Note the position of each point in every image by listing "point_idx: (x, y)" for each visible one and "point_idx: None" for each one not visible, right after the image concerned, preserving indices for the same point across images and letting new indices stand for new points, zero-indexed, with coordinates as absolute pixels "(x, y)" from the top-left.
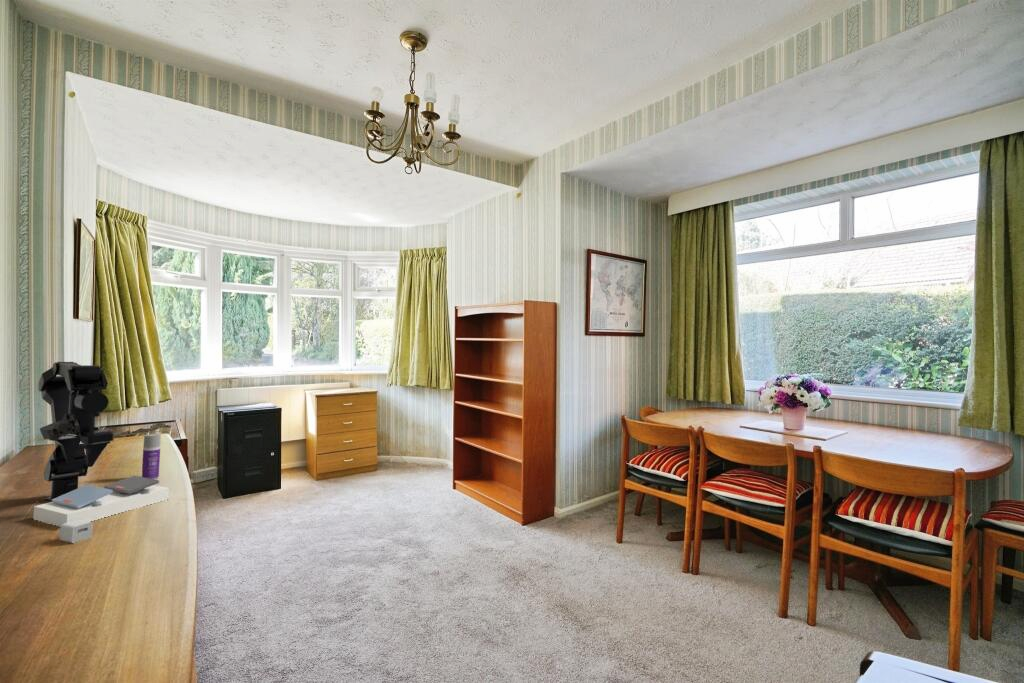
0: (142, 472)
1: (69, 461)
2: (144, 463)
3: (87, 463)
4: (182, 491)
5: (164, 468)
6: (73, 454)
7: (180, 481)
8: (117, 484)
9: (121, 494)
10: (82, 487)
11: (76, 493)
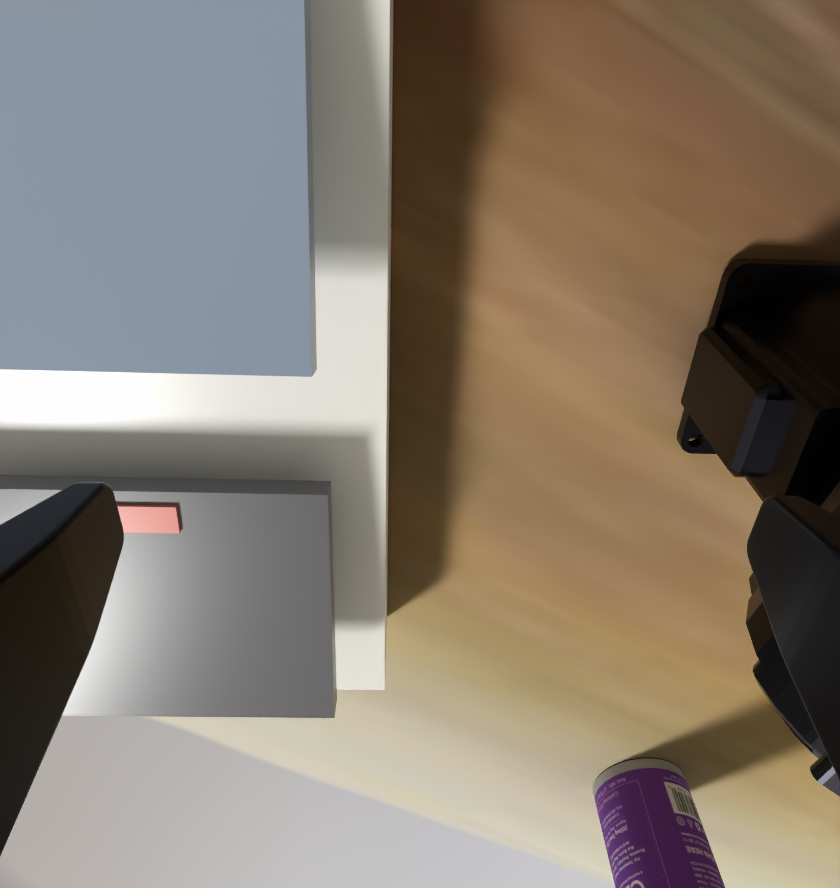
0: (675, 810)
1: (773, 536)
2: (682, 884)
3: (37, 518)
4: (178, 722)
5: (747, 885)
6: (826, 694)
7: (409, 806)
8: (239, 557)
9: (87, 469)
10: (274, 306)
11: (145, 163)
